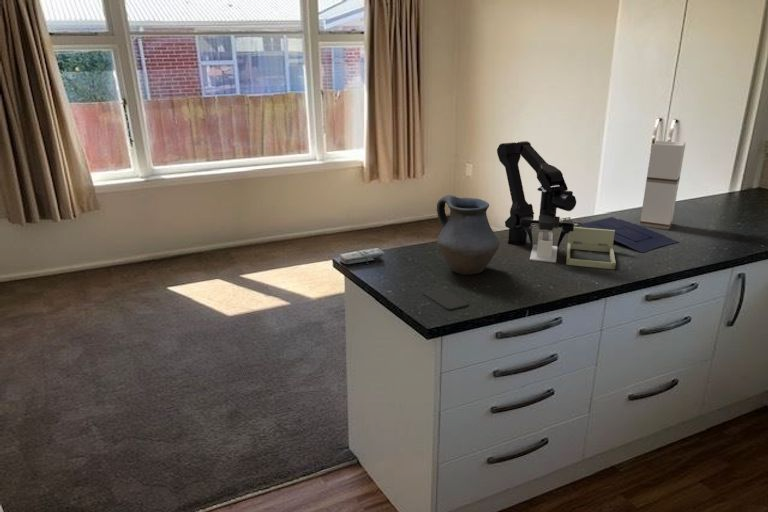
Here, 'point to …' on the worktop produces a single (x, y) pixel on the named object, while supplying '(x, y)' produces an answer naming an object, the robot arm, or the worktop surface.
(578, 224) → the graphics card
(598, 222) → the navy flat panel
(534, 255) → the mat
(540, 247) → the module
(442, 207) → the pitcher
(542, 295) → the worktop surface
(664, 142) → the tall banded white pillar
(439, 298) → the phone
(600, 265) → the equipment case
